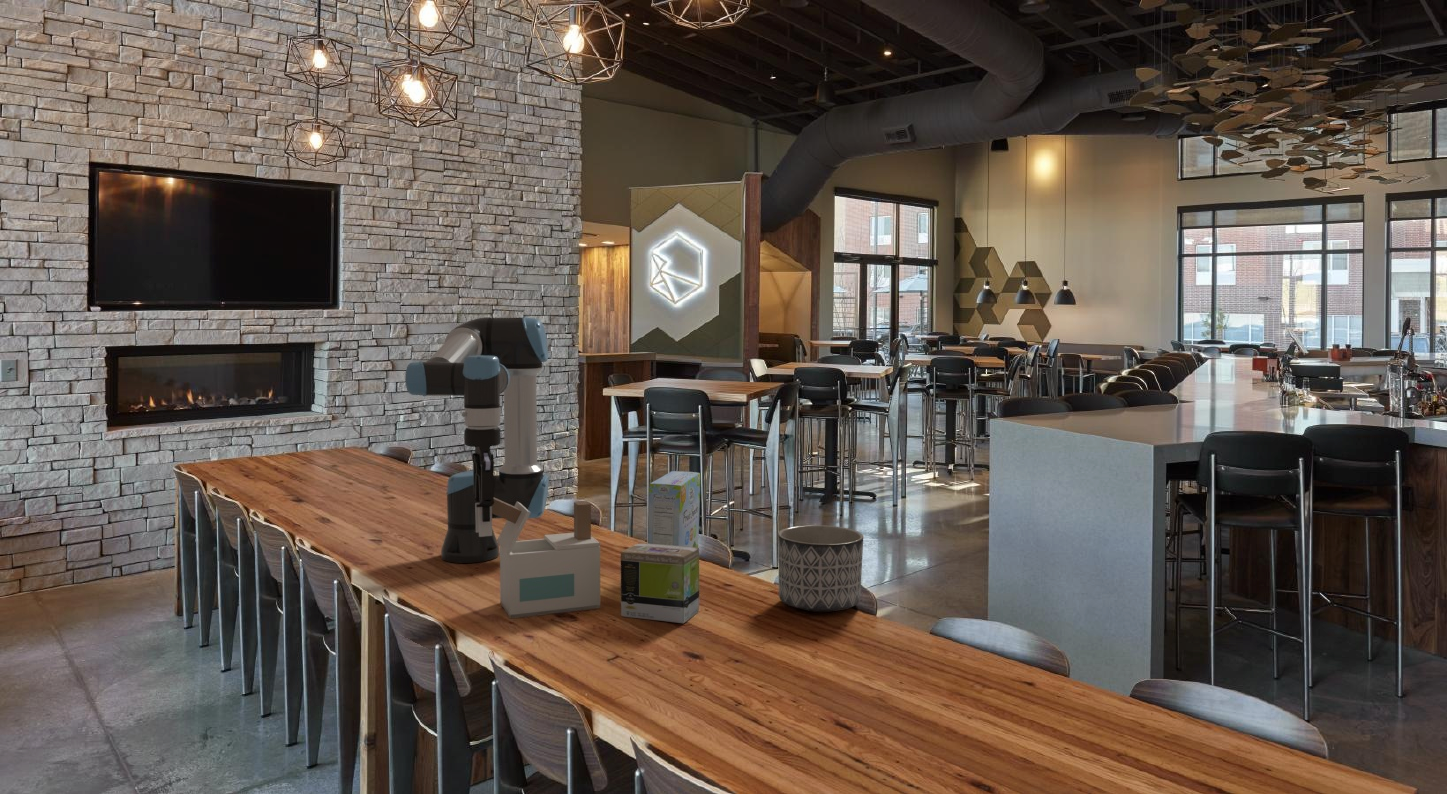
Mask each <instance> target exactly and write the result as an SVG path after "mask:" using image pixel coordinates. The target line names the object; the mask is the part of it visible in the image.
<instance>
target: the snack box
mask: <svg viewBox="0 0 1447 794" xmlns="http://www.w3.org/2000/svg"><path fill="white" fill-rule="evenodd" d="M648 490H649V492H648V519H647V520H648V525H647V526H648V527H647V544H661V545H673V546H686V547H698V548H699V534H700V532H699V531H700V504H701V503H700V501H701V498H700V497H701V493H700V492H701V473H700V472H696V471H694V472H693V471H682V470H680V471H679V470H671V471H669V472H668V473H666V474H665V475H662V476H661V477H660V478H657V479H656V480H654V481H652V482H649V488H648Z"/></svg>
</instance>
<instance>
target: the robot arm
mask: <svg viewBox="0 0 1447 794" xmlns="http://www.w3.org/2000/svg"><path fill="white" fill-rule="evenodd" d="M548 358H549V348H548V338H547V333H546V330H545V327H544V324H543V322H542V321H541V320H540V319H539V318H532V317H526V316H524V317H491V316H490V317H489V316H488V317H479V318H475V319H471V320H469V321H466V322H463V323H462V324H459V325H458V326H456V327H454V329H452V330H451V331H449V333H448V334H447V335H446V337H445V339H444V343H443V344H442V345H441V347H440V348H438V350H437V351H435V352H434V353H433V355H432V356H431V357H429V358H428V360H427V361H422V360H421V361H415V362H414V361H412V362H410V363H408V365H407V367H406V369H405V375H404V376H405V377H404V379H405V381H404V382H405V388H406V391H407V392H408V394H410V395H412V396H423V397H426V396H427V397H428V396H433V397H434V396H437V397H438V396H448V397H449V396H455V397H456V396H457V397H458V396H459V397H463V401H464V402H463V403H464V404H463V408H464V411H463V412H461V417H464V425H465V427H466V428H465V429H464V445H466V446H467V447H473V448H474V452H473V453H472V454H471V457H472V458H471V459H472V470H466V471H461V472H457V473H454V474H453V475H451V476H449V478H448V479H447V488H446V501H447V502H446V505H447V508H446V509H447V530H446V535H445V537H444V540H443V543H442V547H441V550H440V551H441V552H440V554H441V556H440V557H441V560H443V561H445V562H448V563H454V564H455V563H456V564H474V563H481V562H486V561H491V560H495V559H496V558H498V557H500V545H499V543H498V542H497V537H496V535H495V532H494V529H493V519H502V518H501V517H499V516H497V515H494V514H492V505H493V504H494V498H497V499H499V500H501V501H503V502H506V503H508V504H510V505H512V506H515V504H516V502H519V503H521V504H522V505H523V506H524V507H525V508H526V509H527V510H528V511H530V512H531V513H530V515H529V517H528V519H538V518H540V517H541V516H543V515H544V513H545V510H546V505H547V501H548V494H549V487H550V486H549V485H550V481H549V480H550V478H549V477H550V476H549V475H547V474H544V468H543V467H542V465H540V463H538V428H537V427H538V426H537V425H538V424H537V422H538V417H537V415H538V413H537V412H538V411H537V409H538V407H537V405H538V404H537V403H538V402H537V400H538V399H537V398H538V397H537V375H538V374H539V372H540V371H542V369H543V363H545V362H548ZM501 394H503V422H504V423H503V427H504V429H503V430H504V431H503V432H504V433H503V434H504V437H503V439H504V441H503V442H504V463H503V464H502V466H500V468H498V475H495V474H494V473H495V472H494V470H495V461H494V458H495V457H494V454H493V453H492V452H491V447H496V446H499V445H500V444H501V428H500V427H498V426H500V425H501V406H500V404H501V402H500V401H501V400H500V397H501Z"/></svg>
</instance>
